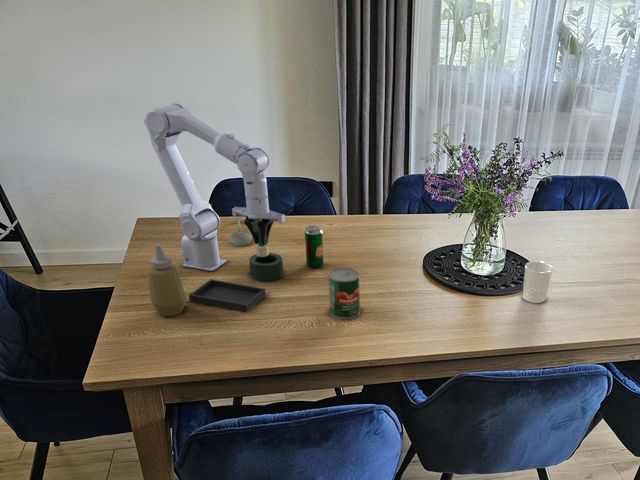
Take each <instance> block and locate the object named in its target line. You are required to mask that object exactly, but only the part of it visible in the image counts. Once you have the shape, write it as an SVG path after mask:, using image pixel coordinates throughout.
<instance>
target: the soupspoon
mask: <svg viewBox="0 0 640 480" xmlns="http://www.w3.org/2000/svg"><path fill="white" fill-rule="evenodd" d="M235 220H236V222H237V231H236V232H233V233H232V234H230V236H229V242H230V244H232V245H234V246H236V247H246V246H249V245H250V244H251V242H252V235H251V234H250V233H248V232H245V231H242V228H241V223H242V221H243V219H242V217H241V216H239V217H237V218H236V219H235Z"/></svg>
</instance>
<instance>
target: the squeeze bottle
mask: <svg viewBox="0 0 640 480" xmlns="http://www.w3.org/2000/svg"><path fill="white" fill-rule="evenodd" d="M149 262H150V266H149V268H148V270H147V275H148V287H149V296H150V297H149V299H150V302H151V303H152V305H153V306H154V309H156V311H157V313H158V314H159V315H161V316H163V317H164V316H165V317H172V316H177V315H179V314H181V313H182V312H184V308H185V303H186V298H187V295H186V292H185V289H184V285H183V282H182V279H181V276H180V272H179V269H178V267H177V266H176V265H175V264H173V261H172V258H171V256H169V255H166V254H165V251H164V249H163V246H162V245H161V244H160V243H157V244H155V245H154V256H153V257H151V258H150V260H149Z"/></svg>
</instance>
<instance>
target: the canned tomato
mask: <svg viewBox="0 0 640 480" xmlns="http://www.w3.org/2000/svg"><path fill="white" fill-rule="evenodd" d="M360 276H361V274H360V272H359V271H358V270H356V269H354V268H349V267H339V268H335V269H332V270H331V271H329V273H328V288H329V289H328V290H329V291H328V293H329V314H330V315H331V316H332V317H334V318H335V319H339V320H350V319H353V318H356V317H358V316H359V315H360V313H361V302H360V301H361V298H360V297H361V293H360V292H361V291H360V290H361V289H360V287H361V286H360V285H361V283H360V282H361V280H360V279H361V277H360Z"/></svg>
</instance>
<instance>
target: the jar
mask: <svg viewBox="0 0 640 480" xmlns="http://www.w3.org/2000/svg"><path fill="white" fill-rule="evenodd" d="M248 263H249V273H250V277H251V278H252V279H253V280H255V281H258V282H267V283H268V282H274V281H275V282H276V281H278V280H280V279H281V278H283V276H284V261H283V257H282V256H281V255H280V254H277V253H274V252H268V256H265V257H259V256H257V253H256V254H252V256H250V257H249V259H248Z"/></svg>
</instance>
